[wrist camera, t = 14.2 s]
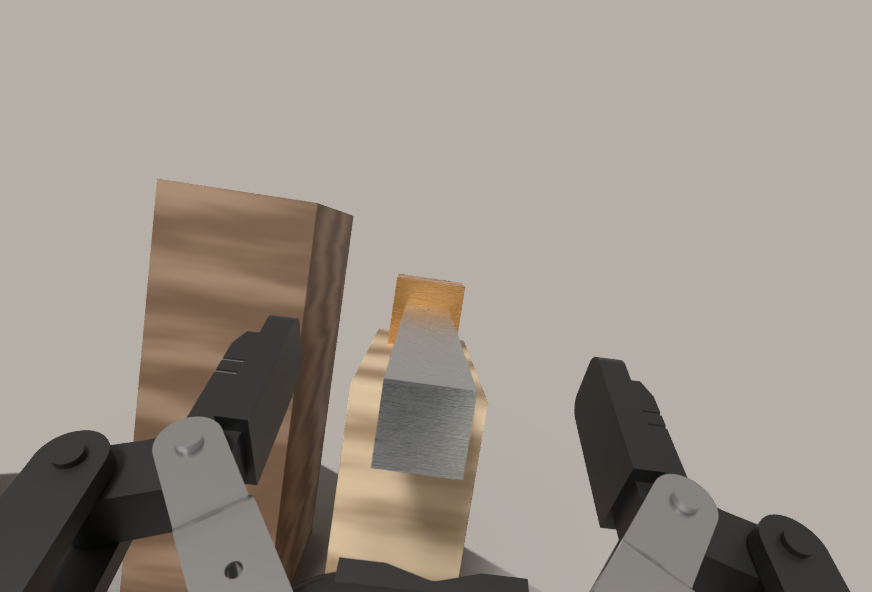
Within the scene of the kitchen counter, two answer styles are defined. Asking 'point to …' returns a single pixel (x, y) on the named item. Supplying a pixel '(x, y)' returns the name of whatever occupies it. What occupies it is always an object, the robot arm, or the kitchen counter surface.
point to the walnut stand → (225, 322)
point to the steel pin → (425, 383)
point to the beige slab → (398, 489)
